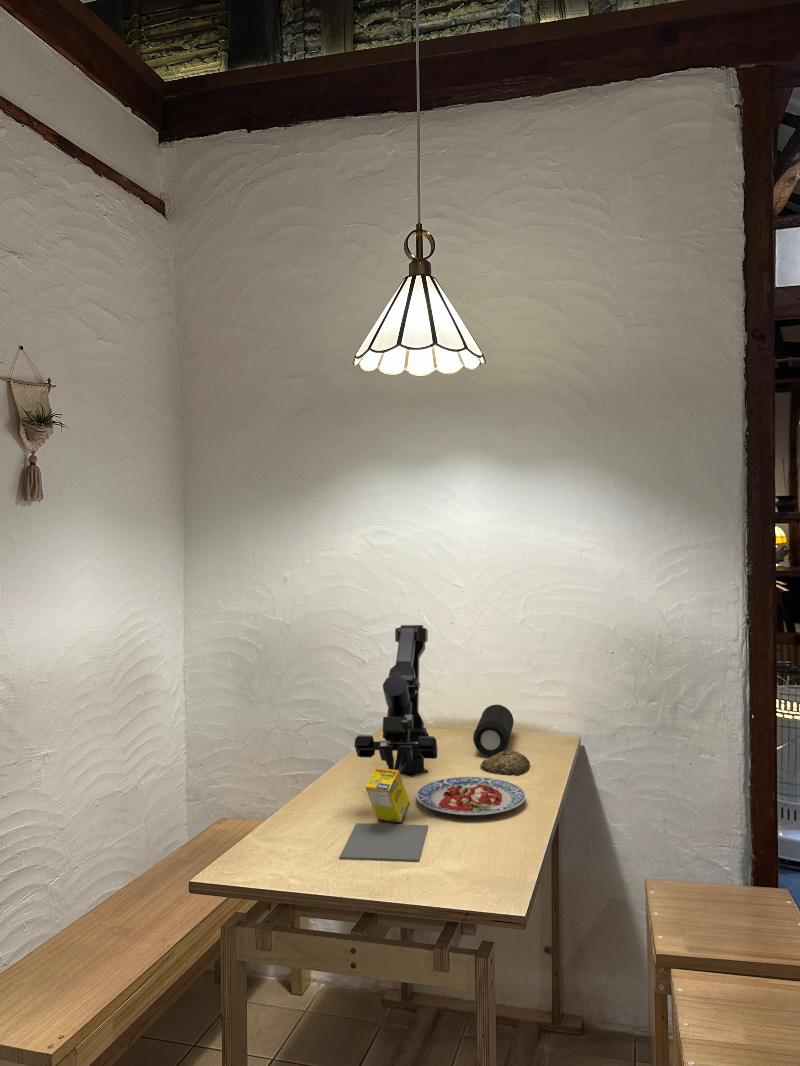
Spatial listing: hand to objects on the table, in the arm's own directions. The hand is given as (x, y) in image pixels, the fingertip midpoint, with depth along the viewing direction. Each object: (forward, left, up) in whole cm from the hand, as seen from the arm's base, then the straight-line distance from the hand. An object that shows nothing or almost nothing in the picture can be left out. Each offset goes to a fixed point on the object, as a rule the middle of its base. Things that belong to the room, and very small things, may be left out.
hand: (393, 780), depth 184 cm
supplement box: (-1, +1, -7) cm, 8 cm away
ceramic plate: (+2, +21, -9) cm, 23 cm away
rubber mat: (+9, -9, -9) cm, 15 cm away
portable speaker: (-29, +57, -9) cm, 64 cm away
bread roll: (-11, +46, -9) cm, 48 cm away
